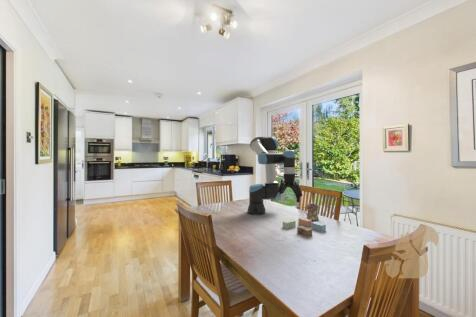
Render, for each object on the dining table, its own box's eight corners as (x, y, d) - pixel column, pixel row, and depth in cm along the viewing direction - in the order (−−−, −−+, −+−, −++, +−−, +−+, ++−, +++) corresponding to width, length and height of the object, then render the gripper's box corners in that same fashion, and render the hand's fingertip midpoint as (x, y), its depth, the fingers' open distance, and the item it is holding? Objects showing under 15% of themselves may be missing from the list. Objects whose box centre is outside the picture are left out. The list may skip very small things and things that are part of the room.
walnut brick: (297, 233, 135) (297, 226, 134) (301, 232, 137) (301, 225, 137) (307, 237, 128) (307, 230, 128) (312, 236, 130) (312, 229, 130)
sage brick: (286, 229, 142) (286, 223, 142) (282, 227, 146) (282, 221, 145) (295, 226, 146) (295, 220, 146) (291, 225, 150) (291, 219, 150)
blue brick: (311, 228, 143) (311, 222, 142) (315, 227, 145) (315, 221, 145) (321, 232, 136) (321, 225, 136) (325, 230, 138) (325, 224, 138)
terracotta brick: (298, 223, 152) (298, 218, 152) (302, 222, 154) (302, 217, 154) (307, 227, 145) (307, 221, 145) (311, 226, 147) (311, 220, 147)
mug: (317, 217, 166) (317, 203, 166) (320, 221, 157) (320, 206, 156) (301, 217, 167) (301, 203, 166) (303, 221, 157) (303, 206, 157)
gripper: (272, 172, 154) (272, 202, 154) (299, 175, 133) (299, 209, 133) (280, 171, 158) (280, 200, 158) (308, 174, 137) (308, 207, 137)
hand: (289, 204), depth 146 cm, fingers open, 13 cm apart
